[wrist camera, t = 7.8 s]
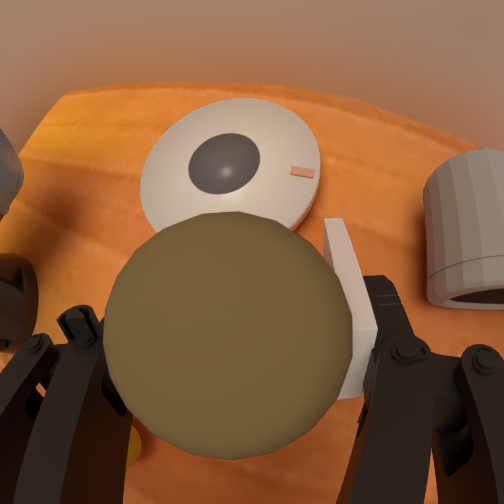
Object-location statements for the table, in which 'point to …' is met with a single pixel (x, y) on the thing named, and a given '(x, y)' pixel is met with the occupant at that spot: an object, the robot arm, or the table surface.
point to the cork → (228, 335)
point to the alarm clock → (466, 231)
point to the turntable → (232, 165)
